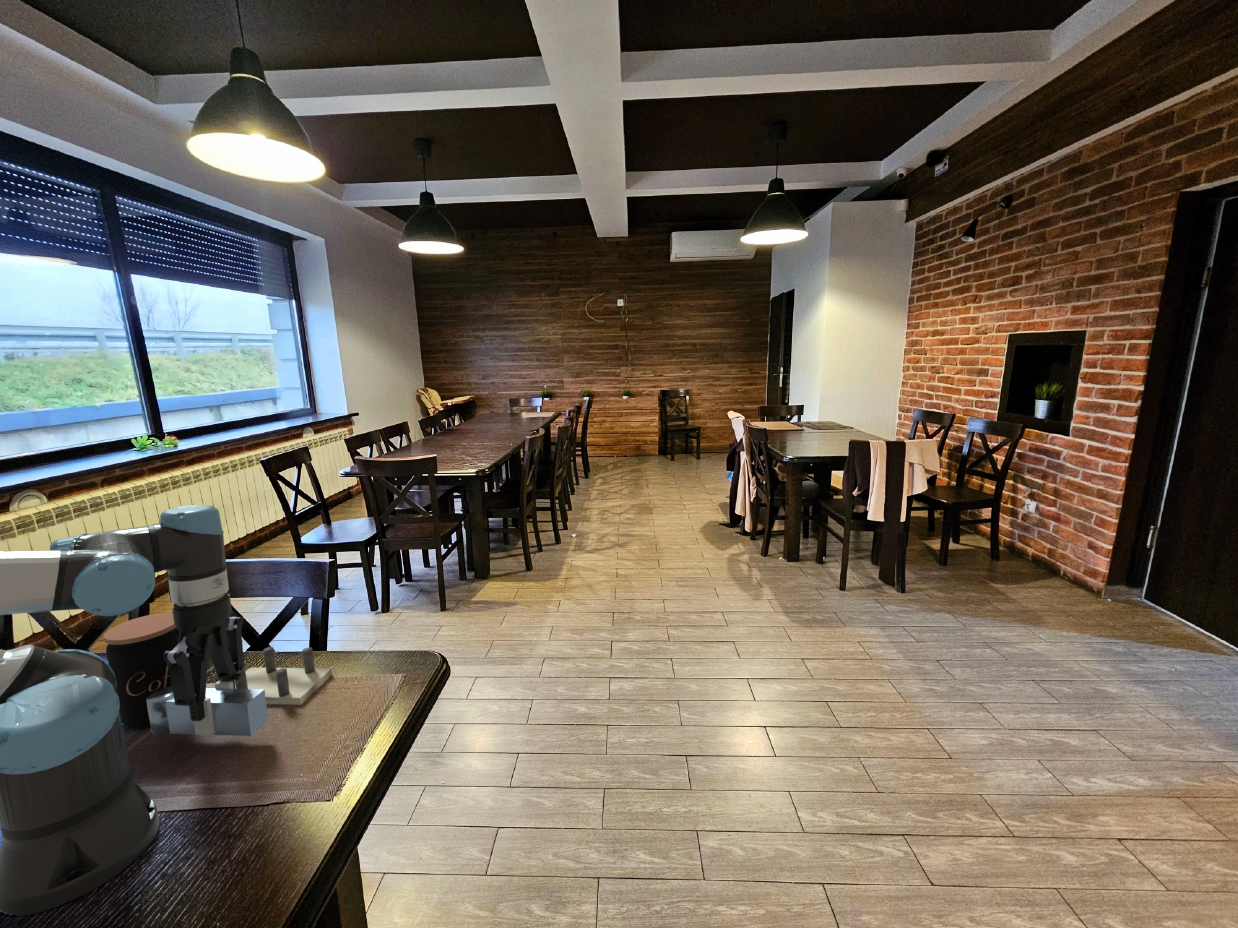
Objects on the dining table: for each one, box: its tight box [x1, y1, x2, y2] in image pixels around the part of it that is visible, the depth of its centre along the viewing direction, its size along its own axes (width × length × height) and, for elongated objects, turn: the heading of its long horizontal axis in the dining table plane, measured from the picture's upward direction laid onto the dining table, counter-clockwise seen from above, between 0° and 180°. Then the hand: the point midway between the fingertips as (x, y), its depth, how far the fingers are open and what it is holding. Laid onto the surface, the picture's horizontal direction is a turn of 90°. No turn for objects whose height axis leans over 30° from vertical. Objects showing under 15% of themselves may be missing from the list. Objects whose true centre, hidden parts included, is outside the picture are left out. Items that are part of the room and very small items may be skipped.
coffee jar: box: [102, 612, 180, 730], centre depth 95 cm, size 11×11×18 cm
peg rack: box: [235, 646, 333, 706], centre depth 103 cm, size 10×18×6 cm, turn 87°
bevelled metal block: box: [146, 686, 269, 737], centre depth 87 cm, size 19×5×6 cm, turn 88°
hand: (216, 724), depth 88 cm, fingers closed on bevelled metal block, 4 cm apart
